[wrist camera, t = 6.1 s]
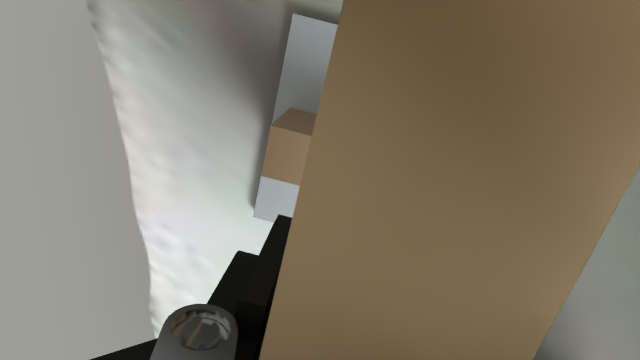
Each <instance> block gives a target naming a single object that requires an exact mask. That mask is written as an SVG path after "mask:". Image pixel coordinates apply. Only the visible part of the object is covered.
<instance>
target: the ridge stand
mask: <svg viewBox="0 0 640 360" xmlns="http://www.w3.org/2000/svg"><path fill="white" fill-rule="evenodd" d="M337 27H338V25H337V24H333V23H329V22H325V21H321V20H317V19H313V18H309V17H305V16H301V15H297V14H293V16H292V21H291V26H290V31H289V36H288V41H287V47H286V52H285V57H284V62H283V67H282V72H281V77H280V82H279V87H278V92H277V97H276V102H275V107H274V113H273V118H272V123H271V126H270V131H269V136H268V141H267V146H266V151H265V156H264V161H263V167H262V172H261V179H260V184H259V189H258V194H257V199H256V204H255V209H254V214H253V217H255V218H259V219H263V220H267V221H271V222H275V220H276V218H277V216H278V214H280V215H284V216H287V217H291V218H292V217H293V213H294V209H295V204H296V200H297V196H298V192H299V188H300V183H301V179H302V175H303V171H304V166H305V162H306V158H307V154H308V149H309V145H310V141H311V137H312V132H313V128H314V124H315V120H316V115H317V111H318V107H319V103H320V99H321V94H322V90H323V86H324V82H325V77H326V73H327V69H328V65H329V60H330V56H331V52H332V48H333V43H334V39H335V35H336V31H337Z"/></svg>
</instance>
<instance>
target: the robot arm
mask: <svg viewBox="0 0 640 360" xmlns="http://www.w3.org/2000/svg"><path fill="white" fill-rule="evenodd" d="M291 221H292V218H291V217H287V216H284V215H280V214H278V216H277V218H276V220H275V222H274V224H273V226H272V229H271V231H270V233H269V235H268V237H267V239H266V241H265V243H264V246H263V248H262V250H261V252H260V254H259V256H258V255H254V254H251V253H247V252H243V251H238V252H237V253H236V255H235V256H234V258H233V260H232V261H231V263H230V265H229V267H228V268H227V270H226V272H225V273H224V275H223V277H222V279H221V280H220V282H219V284H218V285H217V287H216V289H215V291H214V292H213V294H212V296H211V297H210V299H209V301H208V303H207V304H193V305H188V306H185V307H182V308H180V309H178V310H176V311H175V312H173V313H172V314H171V315H169V316H168V318H167V319H166V321H165V323H164V324H163V327H162V329H161V332H160V334H159V337H158V338H157V339H154V340H151V341H148V342H144V343H141V344H138V345H135V346H132V347H129V348H126V349H122V350H119V351H116V352H113V353H110V354H106V355H103V356H100V357H97V358H94V359H91V360H259V357H260V353H261V348H262V344H263V340H264V336H265V332H266V327H267V323H268V319H269V315H270V310H271V306H272V302H273V298H274V293H275V289H276V285H277V281H278V276H279V272H280V268H281V264H282V260H283V255H284V251H285V247H286V243H287V238H288V234H289V230H290V226H291Z"/></svg>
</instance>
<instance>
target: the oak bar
mask: <svg viewBox="0 0 640 360" xmlns="http://www.w3.org/2000/svg"><path fill="white" fill-rule="evenodd" d="M639 166H640V0H344V1H343V5H342V10H341V14H340V18H339V22H338V27H337V31H336V35H335V39H334V43H333V48H332V52H331V56H330V60H329V65H328V69H327V73H326V77H325V82H324V86H323V90H322V94H321V99H320V103H319V107H318V111H317V115H316V120H315V124H314V128H313V132H312V137H311V141H310V145H309V149H308V154H307V158H306V162H305V166H304V171H303V175H302V179H301V183H300V188H299V192H298V196H297V200H296V204H295V209H294V213H293V217H292V221H291V226H290V230H289V234H288V238H287V243H286V247H285V251H284V255H283V260H282V264H281V268H280V272H279V276H278V281H277V285H276V289H275V293H274V298H273V302H272V306H271V310H270V315H269V319H268V323H267V327H266V332H265V336H264V340H263V344H262V348H261V353H260V357H259V360H533V359H534V357H535V355H536V353H537V352H538V350H539V348H540V346H541V344H542V343H543V341H544V339H545V337H546V335H547V333H548V332H549V330H550V328H551V326H552V324H553V323H554V321H555V319H556V317H557V315H558V313H559V312H560V310H561V308H562V306H563V304H564V303H565V301H566V299H567V297H568V295H569V293H570V292H571V290H572V288H573V286H574V284H575V282H576V281H577V279H578V277H579V275H580V273H581V272H582V270H583V268H584V266H585V264H586V262H587V261H588V259H589V257H590V255H591V253H592V252H593V250H594V248H595V246H596V244H597V242H598V241H599V239H600V237H601V235H602V233H603V232H604V230H605V228H606V226H607V224H608V222H609V221H610V219H611V217H612V215H613V213H614V212H615V210H616V208H617V206H618V204H619V202H620V201H621V199H622V197H623V195H624V193H625V191H626V190H627V188H628V186H629V184H630V182H631V181H632V179H633V177H634V175H635V173H636V171H637V170H638V168H639Z"/></svg>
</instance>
